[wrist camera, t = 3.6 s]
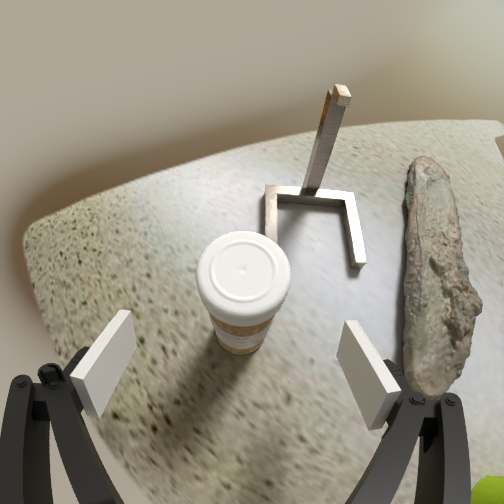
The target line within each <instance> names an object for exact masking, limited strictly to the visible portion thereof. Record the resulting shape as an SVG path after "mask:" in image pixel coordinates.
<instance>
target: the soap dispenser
mask: <svg viewBox="0 0 504 504" xmlns="http://www.w3.org/2000/svg"><path fill="white" fill-rule="evenodd" d="M471 504H504V477H498V476H486V477H484V478H483V479H482V480H480V481H479V482H478V483H477V485H476V486H475V487H474V488H473V490H472V491H471Z"/></svg>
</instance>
